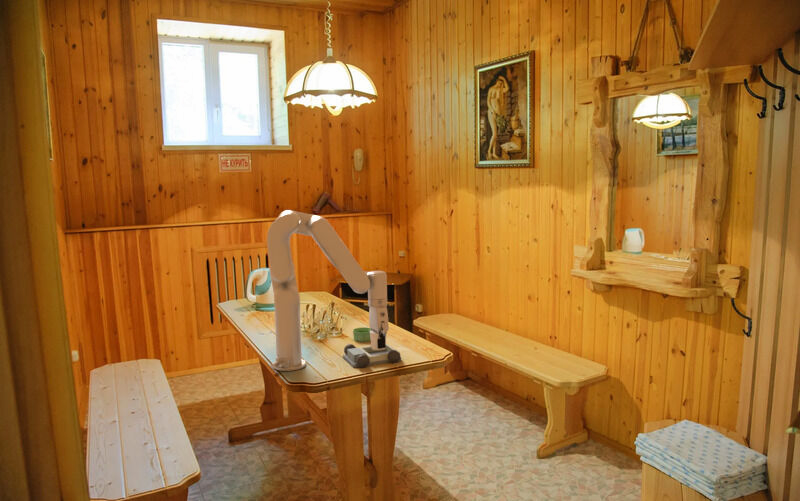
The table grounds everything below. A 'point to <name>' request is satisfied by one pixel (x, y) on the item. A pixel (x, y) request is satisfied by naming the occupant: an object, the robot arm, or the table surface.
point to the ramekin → (362, 334)
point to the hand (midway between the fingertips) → (378, 345)
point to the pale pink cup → (375, 339)
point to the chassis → (370, 355)
